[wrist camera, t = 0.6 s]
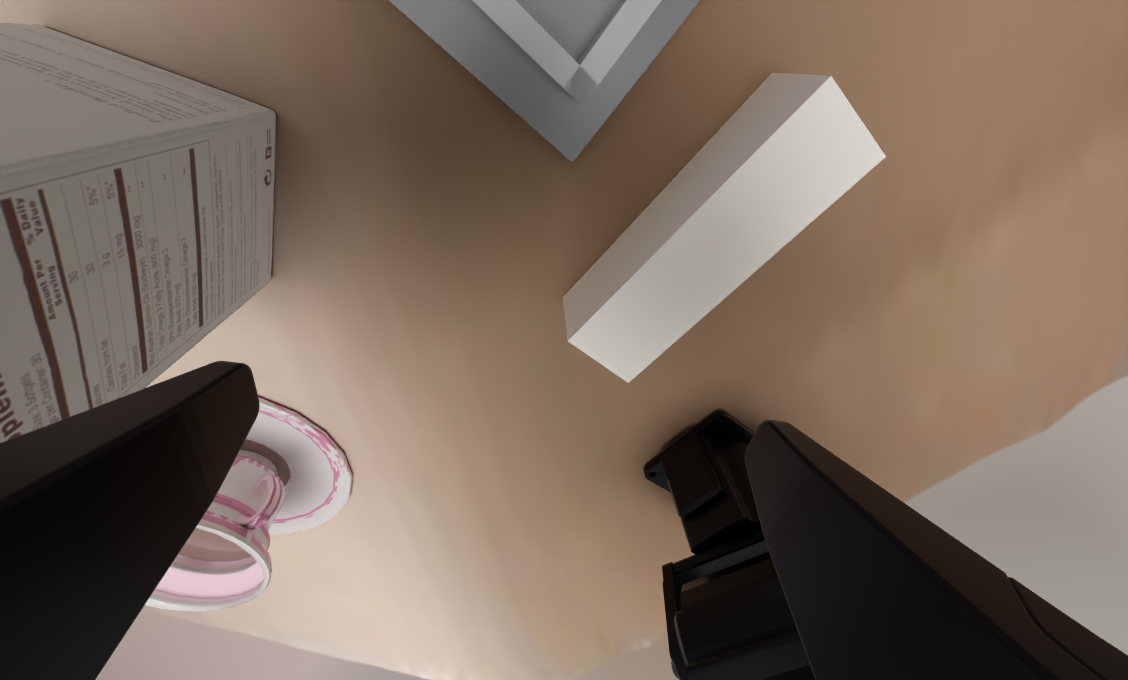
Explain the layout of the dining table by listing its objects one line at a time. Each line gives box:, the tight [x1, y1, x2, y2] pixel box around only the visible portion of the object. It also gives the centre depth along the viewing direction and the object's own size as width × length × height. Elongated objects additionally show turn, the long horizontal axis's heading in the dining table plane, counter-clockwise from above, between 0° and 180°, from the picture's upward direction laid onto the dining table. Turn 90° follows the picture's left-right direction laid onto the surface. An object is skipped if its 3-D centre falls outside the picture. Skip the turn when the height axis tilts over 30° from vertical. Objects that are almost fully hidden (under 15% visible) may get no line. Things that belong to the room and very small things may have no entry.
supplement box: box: [0, 23, 276, 443], centre depth 11 cm, size 7×7×13 cm
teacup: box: [145, 397, 353, 611], centre depth 23 cm, size 12×12×6 cm
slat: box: [562, 73, 886, 383], centre depth 17 cm, size 4×12×4 cm, turn 139°
